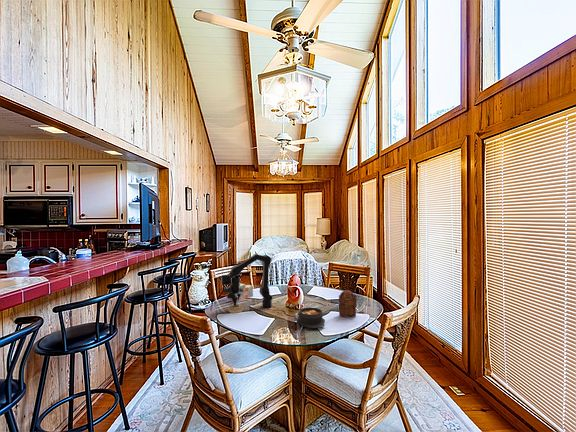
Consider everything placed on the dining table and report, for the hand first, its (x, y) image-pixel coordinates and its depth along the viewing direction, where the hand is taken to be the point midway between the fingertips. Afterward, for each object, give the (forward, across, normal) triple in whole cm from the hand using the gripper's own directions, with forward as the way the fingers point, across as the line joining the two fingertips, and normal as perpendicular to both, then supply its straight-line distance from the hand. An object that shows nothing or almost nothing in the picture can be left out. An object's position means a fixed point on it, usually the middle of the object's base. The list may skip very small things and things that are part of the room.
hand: (235, 304), depth 230 cm
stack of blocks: (+5, -32, -6) cm, 33 cm away
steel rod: (+2, 0, 0) cm, 2 cm away
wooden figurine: (+5, -1, +82) cm, 82 cm away
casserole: (+5, +17, +58) cm, 61 cm away
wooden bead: (+5, 0, 0) cm, 5 cm away
